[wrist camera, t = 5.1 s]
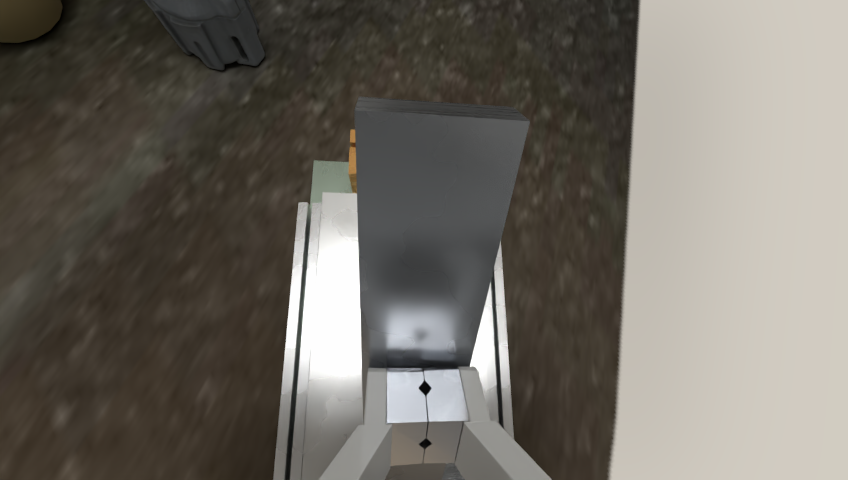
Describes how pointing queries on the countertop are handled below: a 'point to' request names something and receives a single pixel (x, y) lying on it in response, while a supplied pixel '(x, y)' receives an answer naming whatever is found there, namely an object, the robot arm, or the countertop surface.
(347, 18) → the countertop surface
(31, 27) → the squeeze bottle
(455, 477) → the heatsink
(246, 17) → the flashlight
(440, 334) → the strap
